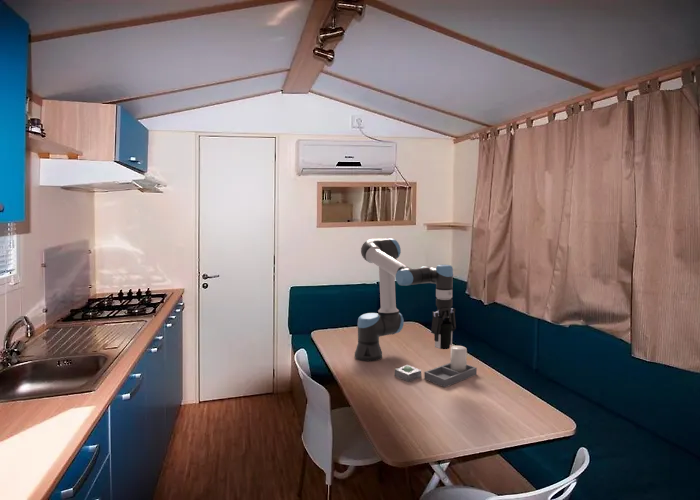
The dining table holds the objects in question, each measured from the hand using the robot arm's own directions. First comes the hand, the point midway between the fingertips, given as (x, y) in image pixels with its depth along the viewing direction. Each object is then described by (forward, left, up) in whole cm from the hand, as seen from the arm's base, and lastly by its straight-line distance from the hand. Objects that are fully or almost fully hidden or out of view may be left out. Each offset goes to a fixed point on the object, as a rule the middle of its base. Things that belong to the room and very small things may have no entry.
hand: (443, 345), depth 195 cm
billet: (0, +11, -15) cm, 19 cm away
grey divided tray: (0, +6, -16) cm, 17 cm away
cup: (0, 0, -1) cm, 1 cm away
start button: (-13, -10, -16) cm, 23 cm away
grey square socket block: (-13, -10, -16) cm, 23 cm away
